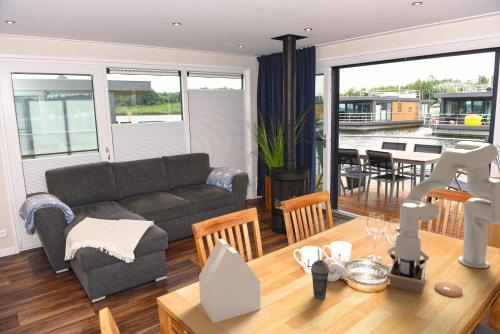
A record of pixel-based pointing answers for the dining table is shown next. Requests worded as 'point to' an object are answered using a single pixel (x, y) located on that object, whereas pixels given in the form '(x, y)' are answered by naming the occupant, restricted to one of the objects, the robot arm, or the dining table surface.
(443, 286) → the coaster
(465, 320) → the dining table surface
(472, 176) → the robot arm
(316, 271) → the beverage cup
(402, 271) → the beverage can
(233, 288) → the milk carton
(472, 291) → the dining table surface
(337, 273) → the white decorative knot
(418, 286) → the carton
